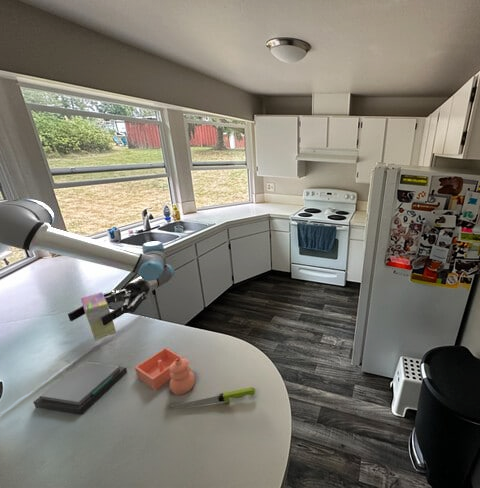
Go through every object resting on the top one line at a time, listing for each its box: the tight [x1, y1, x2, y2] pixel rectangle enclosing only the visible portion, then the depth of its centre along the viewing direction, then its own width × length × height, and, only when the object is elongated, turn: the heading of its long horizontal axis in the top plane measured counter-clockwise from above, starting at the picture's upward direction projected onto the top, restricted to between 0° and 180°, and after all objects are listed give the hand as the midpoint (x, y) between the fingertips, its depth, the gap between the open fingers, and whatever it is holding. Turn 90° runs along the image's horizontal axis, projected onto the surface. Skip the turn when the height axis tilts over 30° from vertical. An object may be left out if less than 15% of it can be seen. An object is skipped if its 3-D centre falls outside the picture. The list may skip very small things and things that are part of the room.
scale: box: [33, 361, 128, 416], centre depth 73 cm, size 14×14×3 cm
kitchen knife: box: [170, 386, 256, 409], centre depth 70 cm, size 22×1×3 cm, turn 101°
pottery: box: [134, 347, 196, 396], centre depth 76 cm, size 18×10×10 cm, turn 63°
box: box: [80, 291, 117, 341], centre depth 85 cm, size 10×6×12 cm, turn 47°
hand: (86, 319), depth 81 cm, fingers closed on box, 11 cm apart
